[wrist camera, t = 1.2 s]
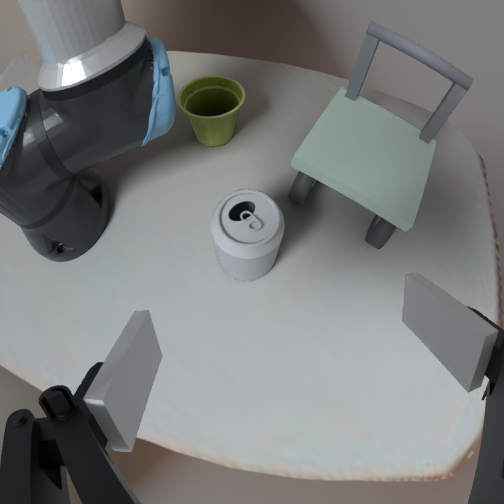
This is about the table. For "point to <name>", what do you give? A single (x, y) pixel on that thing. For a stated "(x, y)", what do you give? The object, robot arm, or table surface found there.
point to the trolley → (375, 143)
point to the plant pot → (212, 108)
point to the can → (247, 233)
